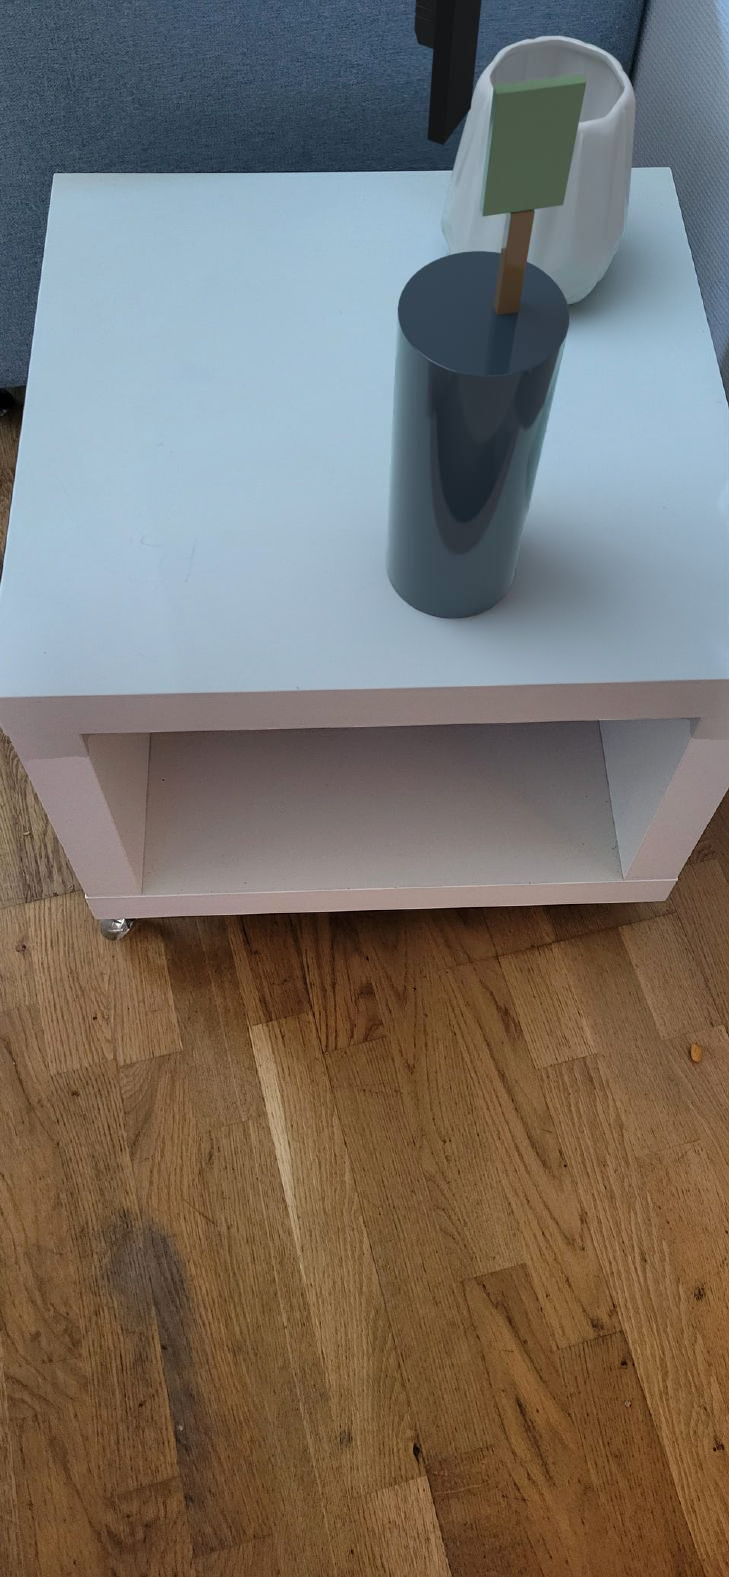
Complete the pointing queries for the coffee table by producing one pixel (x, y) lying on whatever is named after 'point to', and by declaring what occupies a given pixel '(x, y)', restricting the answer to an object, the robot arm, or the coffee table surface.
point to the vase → (600, 170)
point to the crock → (480, 371)
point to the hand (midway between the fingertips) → (595, 177)
